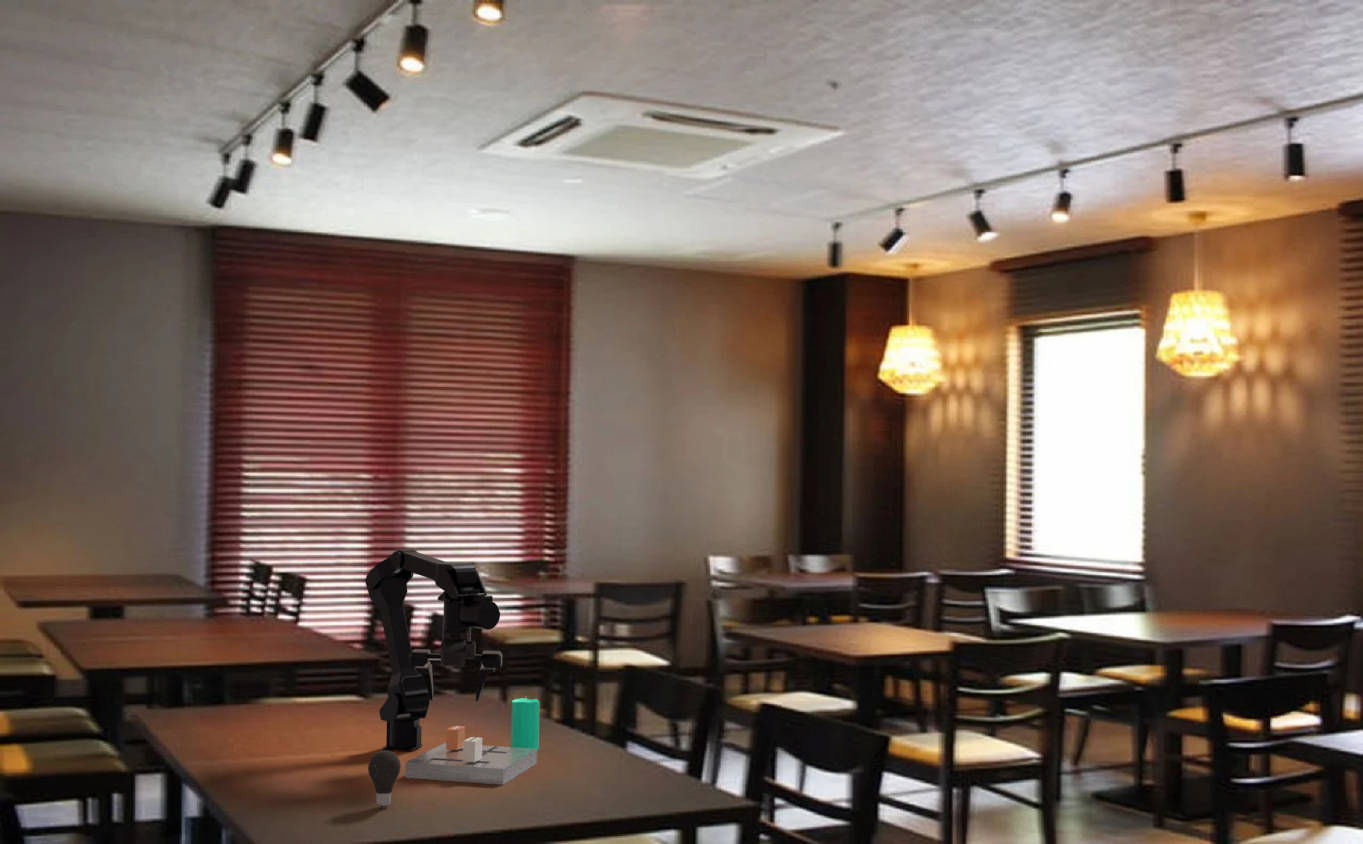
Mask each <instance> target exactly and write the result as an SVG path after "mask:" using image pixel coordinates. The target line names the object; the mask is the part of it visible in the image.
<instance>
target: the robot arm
mask: <svg viewBox="0 0 1363 844" xmlns="http://www.w3.org/2000/svg"><path fill="white" fill-rule="evenodd" d="M476 568H477V567H476V566H475V564H474V563H470V562H457V561H456V562H455V561H454V562H449V561H444V560H442V559H438V558H436V557H432V556H430V555H427V554H424V553H421V552H418V551H417V550H415V549H397V550H395V551H393V552H392V553H391V555H390V556H389V557H387V558H385V559H384V560H382V561H380V562H378V563H376V564H375V566H374V567H373V568H371V569H370V570H369V572H368V573H367V575H366V576H365V586H366V589H367V593H368V595H369V599H370V600H371V602H372V603H373V604H374V605H375V607H377V609H379V613H380V617H381V622H382V628H383V632H384V638H385V639H384V640H385V643H386V644H385V645H386V647H387V648H386V649H387V654H388V660H389V665H390V668H391V669H390V670H391V678H390V681H389V683H388V686H387V699H386V700H385V701H384V703H383V704H382V706H381V707H380V708H379V717H380V720H381V721H384V722H386V732H385V733H386V737H385V738H386V740H385V744H386V745H385V746H382V751H384V750H387V751H399V752H400V751H401V752H412V751H414V750H417V749H419V748H421V747H422V746H423V743H422V734H423V733H422V730H423V729H422V728H423V727H422V726H421V725H420V724H421V721H420V719H426V718H427V715H428V709H429V706H430V703H431V701H432V702H433V701H434V678H433V663H439V664H440V665H441V666H445V667H447V666H456V667H462V666H465V665H466V664H480V665H481V666H480V669H479V674H478V679H477V686H476V693H475V702H478V701H479V699H480V697H481V693H482V691H483V687H484V684H485V682H486V680H487V678H488V676H489V674H490V673H494V672H495V671H496V669H500V668H502V665H503V653H502V651H500V650H483V651H482V653H481V654H477V653H476V651H477V650H476V649H477V647H476V641H475V640H471V638H472V637H471V635H472V628H475V629H482V630H486V631H490V630H493V629H494V628H495V627H496V626H497V625H498V623H499V621H500V618H501V612H500V608H499V606H498V604H497V603H495V602H494V601H493V600H494V597H493V595H490V594H489V595H488V594H487V592H486V587H485V586H484V584H483V581H482V579H481V577H480V574H479V572H478V571H477V569H476ZM414 574H415V575H418V576H421V577H425V579H429V580H432V581H433V582H434V584H435V585H436V587H437V588H439V589H441V590H442V591H443V592H442V593H441V594H440V595H439V596H438V597H437V601H440V602H443V615H442V616H443V618H442V640H441V643H440V649H439V650H440V652H439V653H432V651H431V649H428V648H427V649H426V648H425V649H424V648H423V649H422V648H414V649H413V648H412V644H411V639H410V635H409V629H408V624H407V620H406V614H405V610H404V609H405V608H404V602H405V599H406V597H407V594H408V583H409V582H410V581H411V580H412V579H413V577H414ZM412 649H413V650H412ZM418 671H419V672H420V673H419V672H418Z"/></svg>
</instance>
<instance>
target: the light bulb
mask: <svg viewBox="0 0 1363 844" xmlns="http://www.w3.org/2000/svg"><path fill="white" fill-rule="evenodd" d="M367 769H368V774H369V777H370V779H371V781H372V783H373V785H374V790H375V793H376V798H375V799H376V800H375V801H376V805H377V806H379V807H380V808H381V807H382V808H381V809H386V808H387V806H389V805H390V804H391V801H392V799H391V797H392V792H393V787H394V784H395V783H396V782H397V781H396V780H397V779H398V777H399V775H400V772H401V761H400V758H399V757H398V756H397V754H395V752H393V751H392V750H380V751H377V752H375V753H374V754H373V755H372V756H371V758H370V760H369V762H368V765H367ZM385 807H386V808H385Z"/></svg>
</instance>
